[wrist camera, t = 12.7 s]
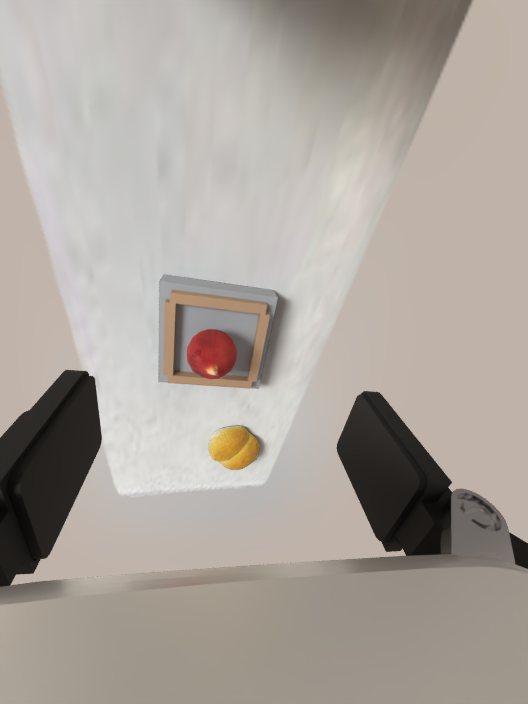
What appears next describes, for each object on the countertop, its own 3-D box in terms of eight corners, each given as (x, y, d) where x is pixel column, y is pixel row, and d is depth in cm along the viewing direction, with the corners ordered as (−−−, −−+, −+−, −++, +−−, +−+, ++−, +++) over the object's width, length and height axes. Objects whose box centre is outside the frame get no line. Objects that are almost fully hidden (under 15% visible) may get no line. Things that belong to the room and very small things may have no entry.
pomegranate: (200, 364, 38) (196, 402, 31) (181, 328, 35) (172, 361, 28) (241, 350, 38) (246, 385, 31) (225, 313, 35) (227, 342, 28)
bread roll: (233, 415, 47) (235, 433, 44) (265, 442, 52) (268, 460, 48) (197, 441, 49) (195, 459, 46) (231, 465, 53) (231, 483, 50)
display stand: (163, 274, 35) (157, 283, 31) (273, 290, 37) (279, 300, 34) (162, 369, 41) (156, 387, 37) (256, 377, 44) (259, 393, 40)
